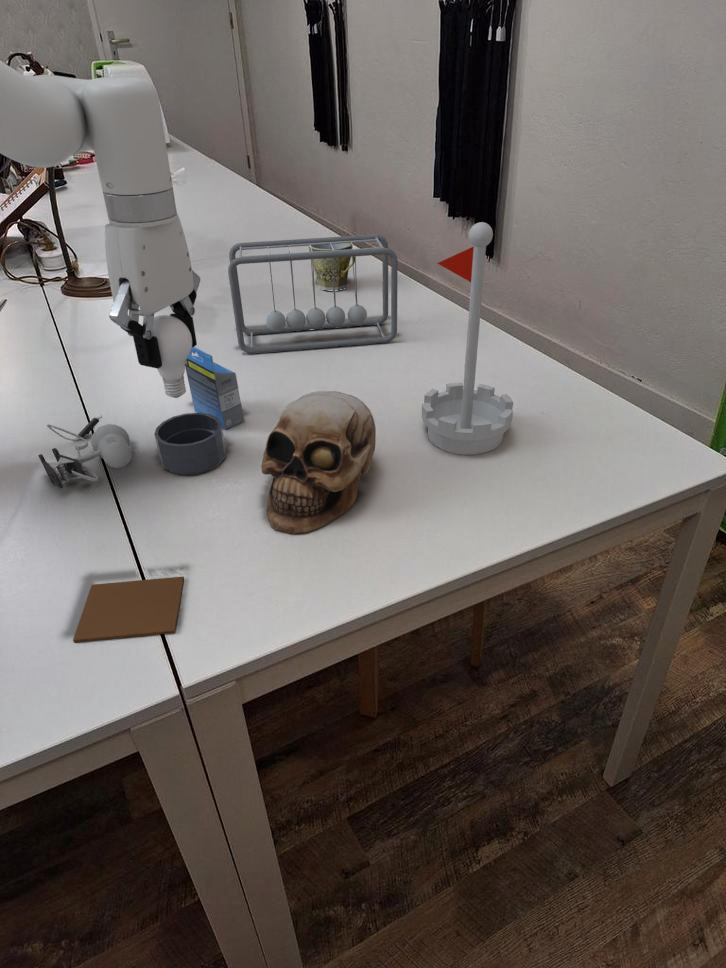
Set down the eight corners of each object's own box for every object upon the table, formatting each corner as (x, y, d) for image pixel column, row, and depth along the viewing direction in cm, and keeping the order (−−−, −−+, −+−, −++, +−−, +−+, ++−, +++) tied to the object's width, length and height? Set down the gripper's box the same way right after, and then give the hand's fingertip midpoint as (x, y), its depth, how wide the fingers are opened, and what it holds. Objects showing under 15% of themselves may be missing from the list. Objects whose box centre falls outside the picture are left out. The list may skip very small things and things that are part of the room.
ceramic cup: (302, 287, 153) (299, 243, 147) (335, 277, 158) (333, 235, 153) (338, 300, 145) (336, 255, 139) (371, 290, 150) (370, 245, 145)
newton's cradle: (387, 323, 133) (387, 232, 123) (397, 342, 125) (398, 247, 115) (240, 334, 130) (227, 243, 120) (239, 355, 122) (226, 259, 112)
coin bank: (271, 538, 78) (261, 435, 71) (257, 473, 92) (248, 383, 86) (397, 520, 81) (399, 420, 74) (365, 460, 95) (364, 372, 89)
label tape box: (245, 421, 101) (234, 347, 94) (223, 431, 99) (211, 356, 92) (213, 403, 106) (201, 331, 99) (192, 412, 104) (178, 339, 97)
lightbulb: (210, 395, 87) (198, 316, 81) (169, 412, 83) (153, 330, 77) (183, 381, 91) (169, 304, 84) (142, 396, 87) (125, 317, 81)
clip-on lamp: (48, 463, 98) (55, 502, 83) (29, 424, 95) (34, 458, 80) (125, 435, 102) (145, 468, 87) (109, 398, 99) (128, 425, 84)
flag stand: (511, 417, 100) (536, 211, 83) (508, 462, 90) (537, 238, 73) (426, 410, 103) (434, 208, 86) (415, 454, 92) (421, 234, 75)
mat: (73, 642, 65) (72, 640, 65) (92, 587, 72) (91, 584, 72) (175, 633, 66) (174, 630, 66) (184, 578, 73) (183, 576, 72)
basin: (157, 479, 89) (149, 448, 86) (166, 444, 96) (159, 415, 93) (224, 474, 89) (218, 443, 87) (228, 440, 97) (223, 410, 94)
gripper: (163, 189, 81) (186, 327, 91) (57, 220, 68) (98, 377, 78) (213, 194, 79) (231, 335, 89) (114, 227, 66) (148, 388, 76)
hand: (168, 353), depth 83 cm, fingers closed on lightbulb, 6 cm apart
